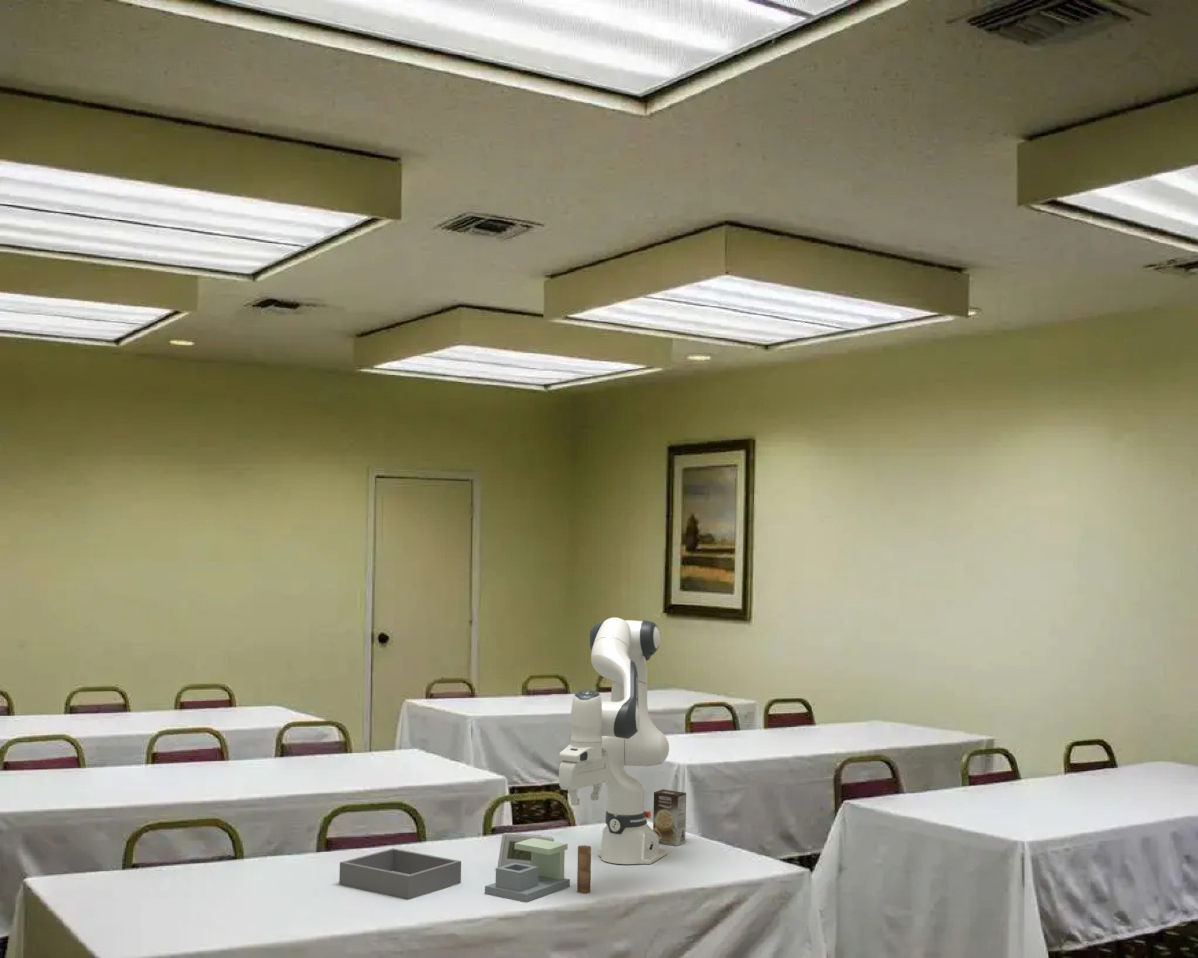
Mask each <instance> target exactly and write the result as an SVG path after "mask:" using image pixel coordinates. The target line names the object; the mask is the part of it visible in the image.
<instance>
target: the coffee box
mask: <svg viewBox="0 0 1198 958" xmlns="http://www.w3.org/2000/svg"><path fill="white" fill-rule="evenodd" d="M652 817H653V818H652V819H653V821H652V830H653V831H654V832H655V833H656V834H657V835H658V838H659V845H660V844H662V845H667V846H673V847H678V846H680V845H683V844H685V843H686V828H687V827H686V826H687V825H686V824H687V823H686V820H687V792H683V791H678V790H677V791H676V790H672V789H663V788H662V789H660V790H656V791H654V792H653V816H652Z"/></svg>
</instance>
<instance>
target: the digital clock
mask: <svg viewBox="0 0 1198 958" xmlns="http://www.w3.org/2000/svg"><path fill="white" fill-rule="evenodd" d="M531 838H536V839H542V840H548V841H554V842H555V839H554V837H552V836H546V835H541V834H529V833H517V832H516V833H514V832H503V833H502V836H501V841H500V849H499V855H498V861H497V868H498V867H501V866H505V865H508V864H511V863H514V862H515V863H520V864H525V865H531V852H530V851H524V850H518V849H514V848H515V843H517V842H521V841H524V840H528V839H531Z"/></svg>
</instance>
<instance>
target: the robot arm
mask: <svg viewBox="0 0 1198 958" xmlns="http://www.w3.org/2000/svg"><path fill="white" fill-rule="evenodd" d="M588 637H589V639H588V643H589V647H590V650H591V654H590V663H591V665H592V667H593V669H594V670H595V671H596V672H597V674H599V675H600V676H601V677H603V678H605V679H606V680H607V679H608V680H611V695H610V701H605V700H602V696H601V694H600V692H598V691H595V690H581V691H577V692H576V693H574V695H573V698H572V702H571V703H572V704H571V710H570V727H571V728H570V729H571V736H570V738H569V739H570V741H569V744H568V745H567V746H566V747H565V748H564V749H563V750H561V751H560V752H559V753H558V759H559V760H560V761H561V762H560V764H559V766H558V767H559V768H558V770H559V771H558V785H559V787H560V789H561V790H564V791H568V794H569V797H570V804H571V806H579V805H580V801H581V800H580V798H579V797H578V792H579V789H582V788H586V787H591V786H592V789H593V790H592V792H591V793H590V800H591V801H595V802H596V801H598V800H600V792H601V790H602V787H603V786H602V785H603V783H605V787H606V802H607V803H606V804H607V806H606V807H607V808H606V811H605V816H604V817H605V824H606V826H604V827H603V829H602V835H601V844H600V845H601V847H600V850H599V851H598V852H597V853H598V854H597V855H598V857H600V860H602V861H604V862H605V863H611V864H617V865H639V864H641V865H650V864H653V863H655V862H657V861H658V860H660V859H662V858H663V857H664V856H666V855H667V854H668V853H667V850H665V849H662V848H660V843H659V838H658V835H657V834H656V833H655V832H654V831H653V828H651V826H649V824H648V820H647V819H650V818H651V817H652V812H651V811H650V810H649V811H647V810H644V809H645V806H644V805H645V804H644V803H645V788H644V786H643V784H642V783H641V781H639V780H638V779H636V778H634V777H633V776H631V775H630V774H628V773H627V772H626V770H625V767H626V766H629V767H652V766H657V765H661V764H663V763H665V761H666V760H667V758H668V755H669V752H670V744H669V741H668V738H667V736H666V735H665V734H664V733H663V732H662V731H661V730H659V729H658V728H657V726H655V723H654V722H653V721H652V719H651V717H650V714H649V709H648V685H649V684H648V665H647V661H649V660H650V659H651V657H652V656H653V655H655V654H656V652H657V651H658V650H659V648H660V647H659V646H660V643H661V635H660V630H659V627H658V625H657V624H656V623H655V622H654V621H650V620H645V619H644V620H635V619H632V620H631V619H628V620H627V619H625V620H624V619H623V618H620V617H610V618H607V619H606V620H604V621H603V622H599V623H595V624H594V625H593V626H592V627H591V629H590V632H589V636H588Z"/></svg>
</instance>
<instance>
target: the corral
mask: <svg viewBox="0 0 1198 958" xmlns="http://www.w3.org/2000/svg"><path fill="white" fill-rule="evenodd" d="M461 879H462V860H457V859H454V858H448V857H447V858H446V857H442V856H435V855H431V854H426V853H425V854H424V853H420V852H415V851H409V850H404V849H399V848H394V847H392V848H389V849H385V850H381V851H379V852H375V853H371V854H366V855H362V856H360V857H355V858H352V859H348V860H343V861H340V862H339V878H338V884H339V885H340V886H343V887H345V886H346V887H350V888H354V889H357V890H358V889H360V890H364V891H367V892H372V893H377V894H382V895H386V896H391V897H395V898H400V899H404V900H411V899H414V898H417V897H420V896H424V895H427V894H431V893H434V892H437V891H440V890H443V889H446V888H449V887H452V886H456V885H459V884H461V883H462V882H461V881H462V880H461Z"/></svg>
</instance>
